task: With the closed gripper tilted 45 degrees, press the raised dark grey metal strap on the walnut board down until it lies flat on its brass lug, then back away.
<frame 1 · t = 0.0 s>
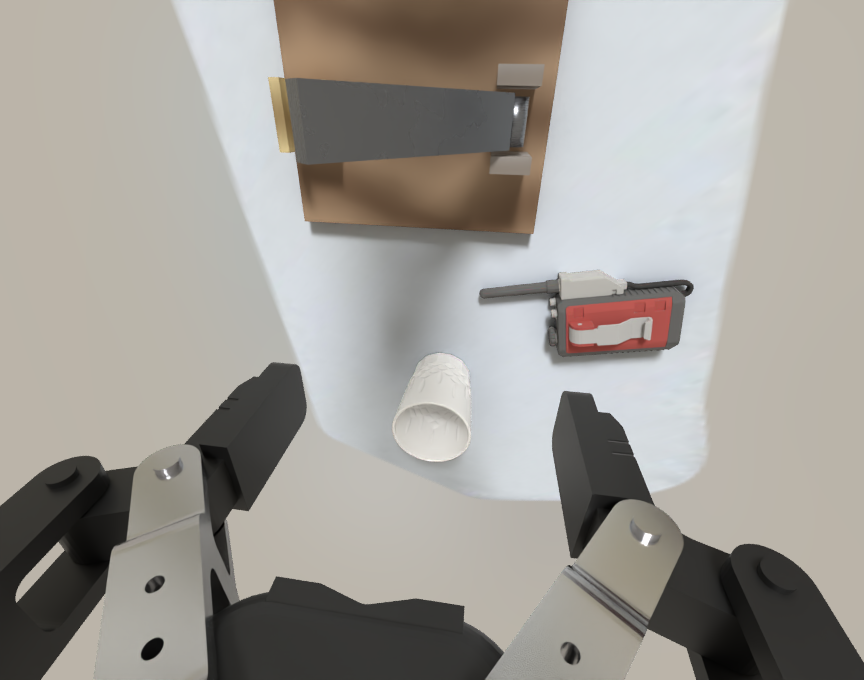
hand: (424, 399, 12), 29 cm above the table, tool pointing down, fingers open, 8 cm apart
white cup: (442, 374, 48), on the table
latch board: (418, 118, 34), on the table
strap: (433, 122, 24), point 11 cm above the table, hinge at 50.0°
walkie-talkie: (578, 307, 41), on the table
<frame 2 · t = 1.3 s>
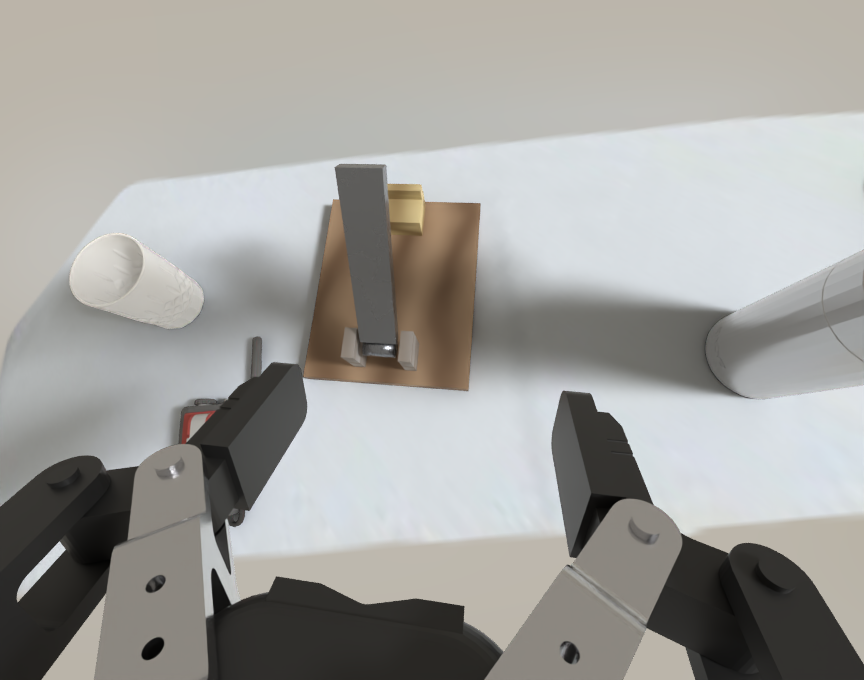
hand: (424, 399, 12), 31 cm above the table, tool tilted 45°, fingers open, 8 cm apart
white cup: (179, 303, 48), on the table
latch board: (397, 291, 46), on the table
strap: (372, 274, 35), point 11 cm above the table, hinge at 50.0°
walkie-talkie: (232, 428, 44), on the table
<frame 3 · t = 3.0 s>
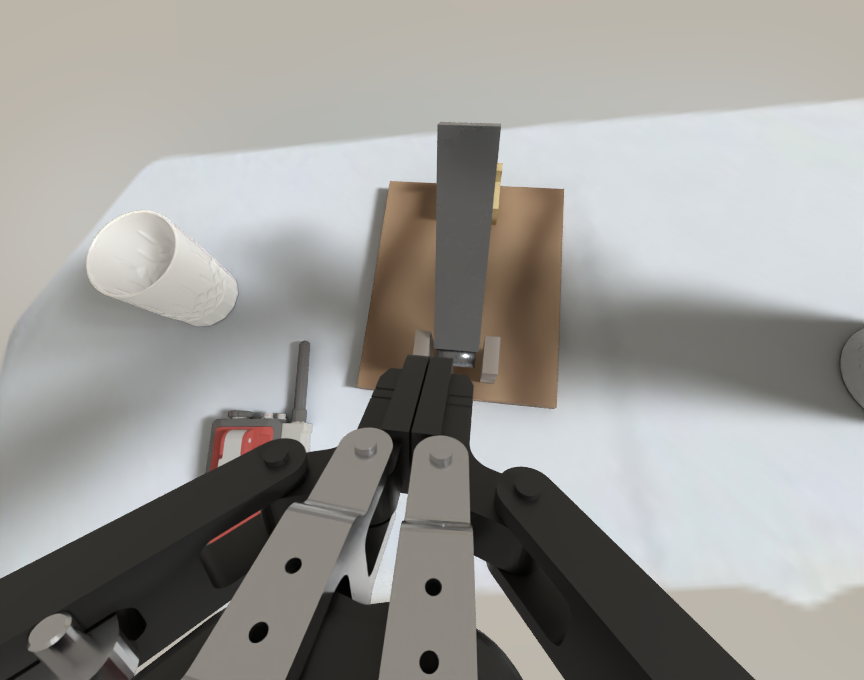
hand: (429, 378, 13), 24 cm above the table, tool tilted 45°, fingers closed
white cup: (209, 297, 42), on the table
latch board: (465, 289, 40), on the table
strap: (461, 266, 28), point 11 cm above the table, hinge at 50.0°
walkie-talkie: (269, 446, 38), on the table
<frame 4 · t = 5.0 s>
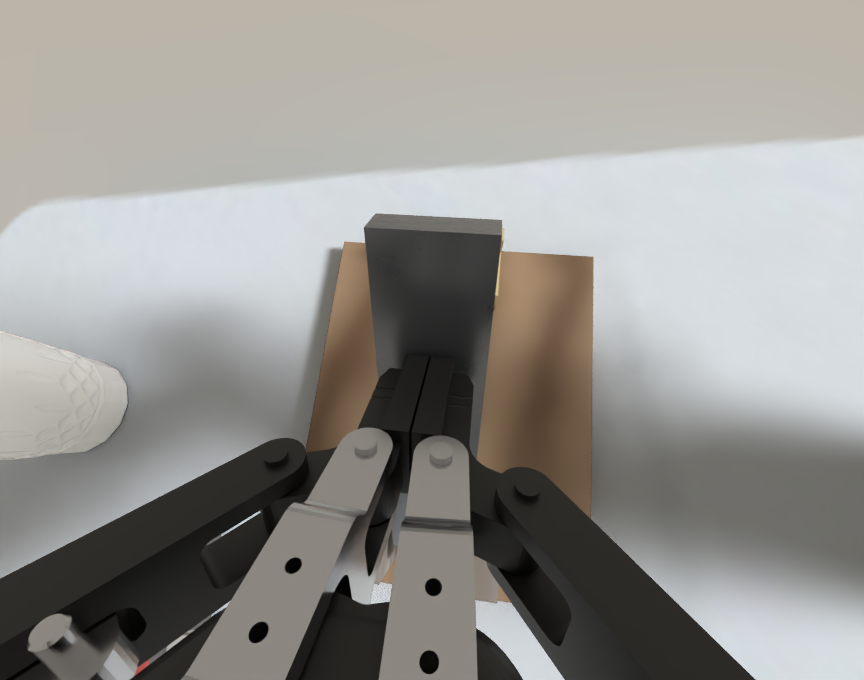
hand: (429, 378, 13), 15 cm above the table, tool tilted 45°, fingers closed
white cup: (89, 406, 30), on the table
latch board: (450, 403, 27), on the table
strap: (432, 444, 16), point 11 cm above the table, hinge at 49.5°, touching gripper
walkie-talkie: (158, 649, 25), on the table
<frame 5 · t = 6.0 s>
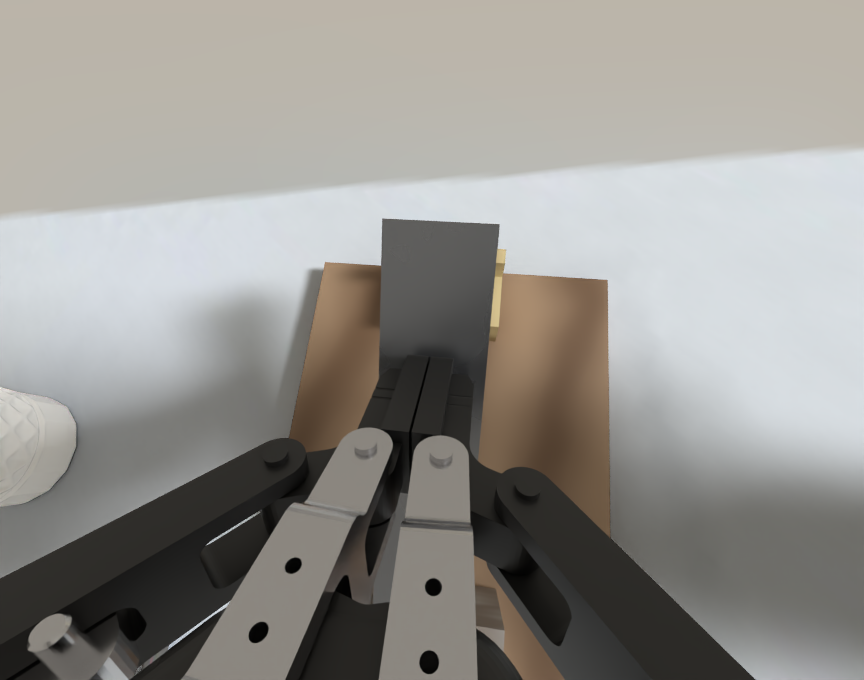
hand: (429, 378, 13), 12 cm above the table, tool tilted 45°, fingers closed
white cup: (33, 449, 26), on the table
latch board: (444, 449, 24), on the table
strap: (427, 472, 15), point 9 cm above the table, hinge at 29.4°, touching gripper
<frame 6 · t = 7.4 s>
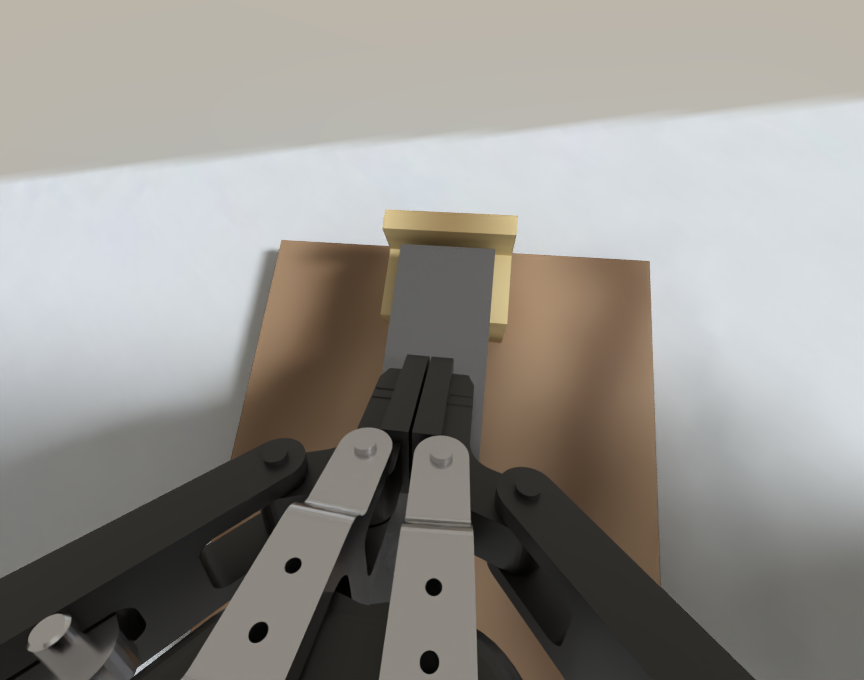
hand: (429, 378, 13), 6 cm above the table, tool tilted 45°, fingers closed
latch board: (433, 484, 18), on the table
strap: (421, 495, 13), point 5 cm above the table, hinge at -0.3°, touching gripper, latch board
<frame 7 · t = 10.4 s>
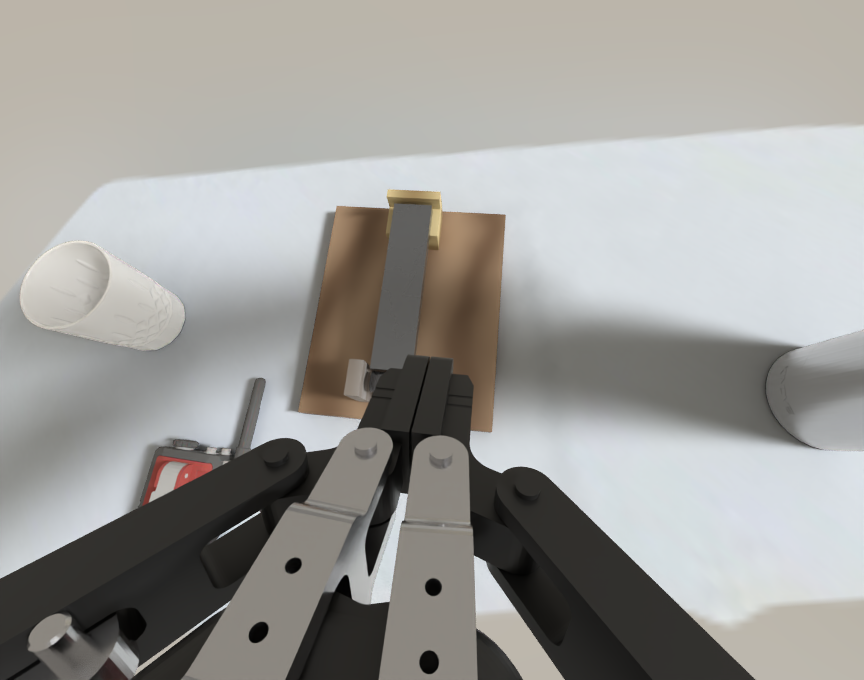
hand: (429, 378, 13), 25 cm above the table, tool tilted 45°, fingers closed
white cup: (157, 321, 42), on the table
latch board: (408, 313, 40), on the table
strap: (402, 294, 35), point 5 cm above the table, hinge at -0.3°, touching latch board
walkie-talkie: (211, 478, 38), on the table
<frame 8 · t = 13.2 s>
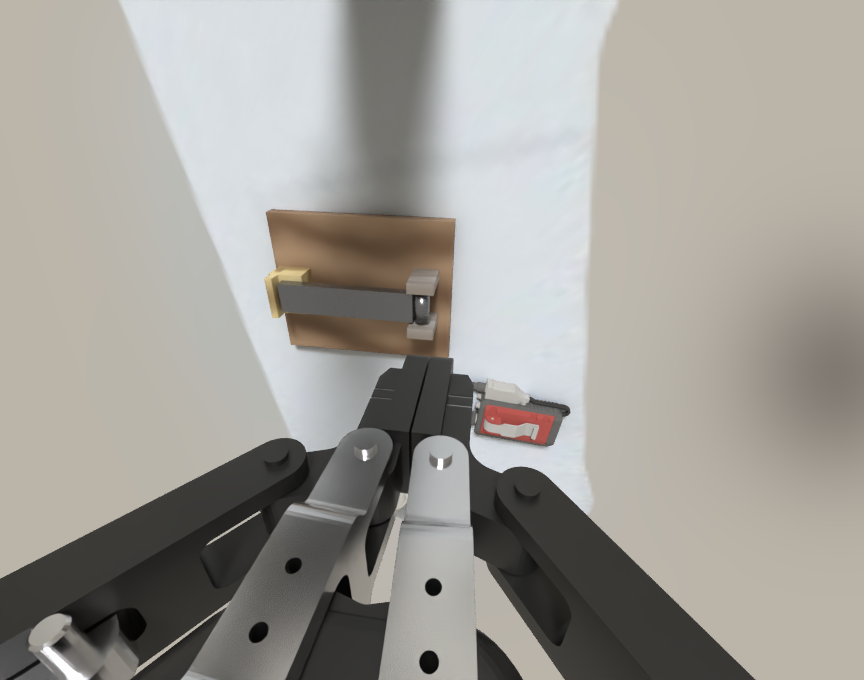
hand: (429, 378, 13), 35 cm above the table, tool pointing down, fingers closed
latch board: (366, 285, 50), on the table
strap: (354, 301, 46), point 5 cm above the table, hinge at -0.3°, touching latch board
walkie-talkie: (496, 401, 58), on the table
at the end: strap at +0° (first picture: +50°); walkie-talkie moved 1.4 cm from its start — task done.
